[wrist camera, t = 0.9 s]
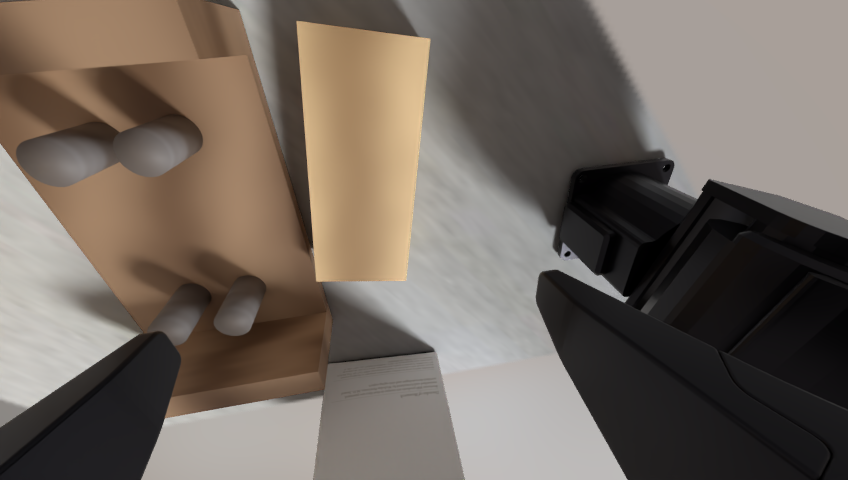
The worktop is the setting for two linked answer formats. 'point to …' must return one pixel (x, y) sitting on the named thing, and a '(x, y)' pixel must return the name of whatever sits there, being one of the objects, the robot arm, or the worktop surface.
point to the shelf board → (361, 147)
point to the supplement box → (386, 422)
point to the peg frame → (170, 185)
